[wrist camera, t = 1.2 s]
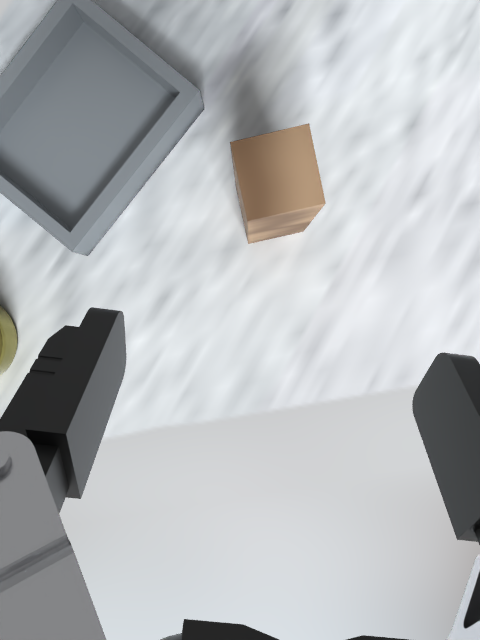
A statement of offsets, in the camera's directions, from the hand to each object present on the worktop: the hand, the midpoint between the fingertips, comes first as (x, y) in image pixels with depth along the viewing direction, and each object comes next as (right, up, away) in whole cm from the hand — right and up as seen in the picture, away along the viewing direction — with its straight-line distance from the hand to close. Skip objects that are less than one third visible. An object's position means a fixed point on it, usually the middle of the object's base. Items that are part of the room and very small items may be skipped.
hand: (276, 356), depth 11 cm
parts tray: (-13, +16, +23) cm, 31 cm away
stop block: (+1, +10, +23) cm, 25 cm away
